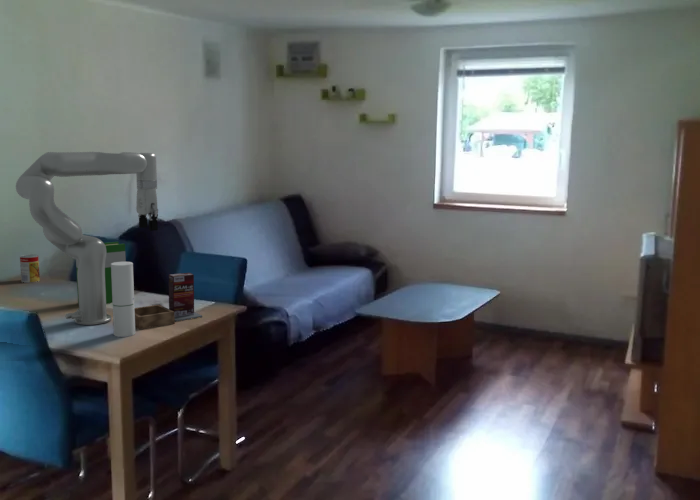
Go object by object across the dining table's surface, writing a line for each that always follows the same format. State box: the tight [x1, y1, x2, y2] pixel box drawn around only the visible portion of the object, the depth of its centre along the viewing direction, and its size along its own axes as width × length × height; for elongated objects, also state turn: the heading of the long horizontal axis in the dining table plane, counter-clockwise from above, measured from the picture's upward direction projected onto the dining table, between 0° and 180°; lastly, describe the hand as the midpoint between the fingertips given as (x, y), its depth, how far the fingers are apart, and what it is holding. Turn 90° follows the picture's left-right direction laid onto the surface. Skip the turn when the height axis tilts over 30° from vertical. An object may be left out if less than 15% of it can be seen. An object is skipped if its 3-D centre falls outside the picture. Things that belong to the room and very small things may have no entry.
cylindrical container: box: [111, 261, 136, 338], centre depth 237 cm, size 7×7×25 cm
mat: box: [175, 311, 203, 323], centre depth 263 cm, size 11×11×1 cm
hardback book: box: [75, 241, 127, 305], centre depth 282 cm, size 18×7×24 cm, turn 131°
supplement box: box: [168, 272, 195, 317], centre depth 262 cm, size 9×5×16 cm, turn 127°
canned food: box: [19, 253, 41, 284], centre depth 320 cm, size 8×8×12 cm
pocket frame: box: [134, 304, 176, 330], centre depth 254 cm, size 13×13×4 cm
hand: (148, 228), depth 268 cm, fingers open, 9 cm apart
